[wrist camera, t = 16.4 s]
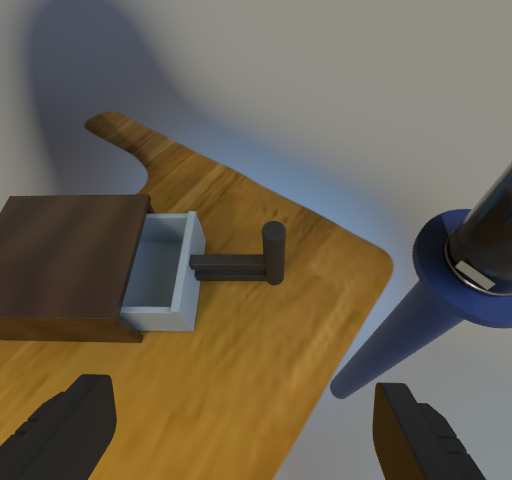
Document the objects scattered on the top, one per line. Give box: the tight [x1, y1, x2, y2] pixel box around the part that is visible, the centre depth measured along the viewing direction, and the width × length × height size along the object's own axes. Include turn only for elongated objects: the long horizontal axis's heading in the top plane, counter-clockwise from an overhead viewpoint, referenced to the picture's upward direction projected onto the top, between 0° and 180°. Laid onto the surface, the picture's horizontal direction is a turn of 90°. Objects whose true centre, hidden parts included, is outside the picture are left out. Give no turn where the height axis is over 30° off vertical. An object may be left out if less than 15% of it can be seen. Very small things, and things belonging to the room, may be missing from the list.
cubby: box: [0, 195, 155, 343], centre depth 34 cm, size 16×14×8 cm
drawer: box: [120, 211, 286, 332], centre depth 32 cm, size 23×11×10 cm, turn 88°
